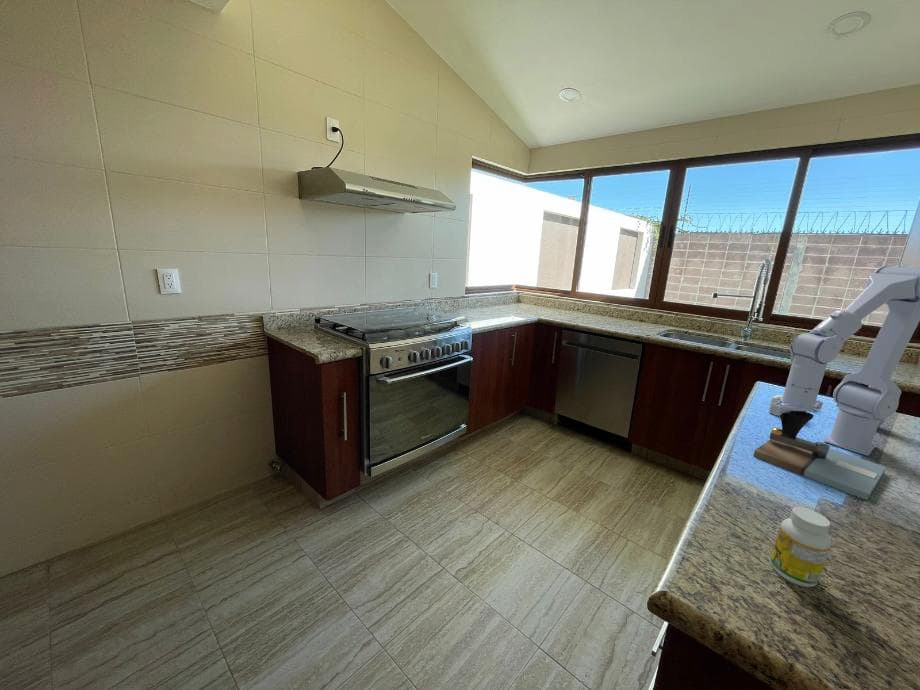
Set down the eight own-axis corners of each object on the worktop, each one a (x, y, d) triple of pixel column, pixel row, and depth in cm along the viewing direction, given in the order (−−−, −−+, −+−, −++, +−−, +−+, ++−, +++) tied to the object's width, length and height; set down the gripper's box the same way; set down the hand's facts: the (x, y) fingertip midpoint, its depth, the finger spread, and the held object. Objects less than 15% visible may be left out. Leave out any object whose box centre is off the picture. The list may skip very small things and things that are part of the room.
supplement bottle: (818, 595, 51) (839, 536, 49) (768, 573, 54) (786, 516, 52) (815, 571, 55) (835, 515, 53) (769, 551, 58) (786, 498, 56)
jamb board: (779, 437, 97) (781, 431, 97) (826, 453, 90) (828, 447, 90) (753, 455, 87) (755, 449, 87) (803, 475, 80) (805, 469, 80)
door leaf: (826, 453, 90) (828, 446, 90) (883, 473, 83) (886, 466, 82) (803, 475, 80) (805, 468, 80) (866, 500, 73) (869, 493, 72)
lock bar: (826, 455, 85) (830, 443, 84) (825, 459, 84) (830, 446, 83) (769, 438, 92) (773, 426, 92) (768, 441, 91) (771, 429, 90)
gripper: (804, 377, 93) (789, 427, 96) (762, 381, 88) (748, 433, 92) (839, 387, 86) (822, 441, 90) (796, 392, 82) (780, 448, 85)
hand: (787, 438), depth 90 cm, fingers closed, pressing on lock bar
